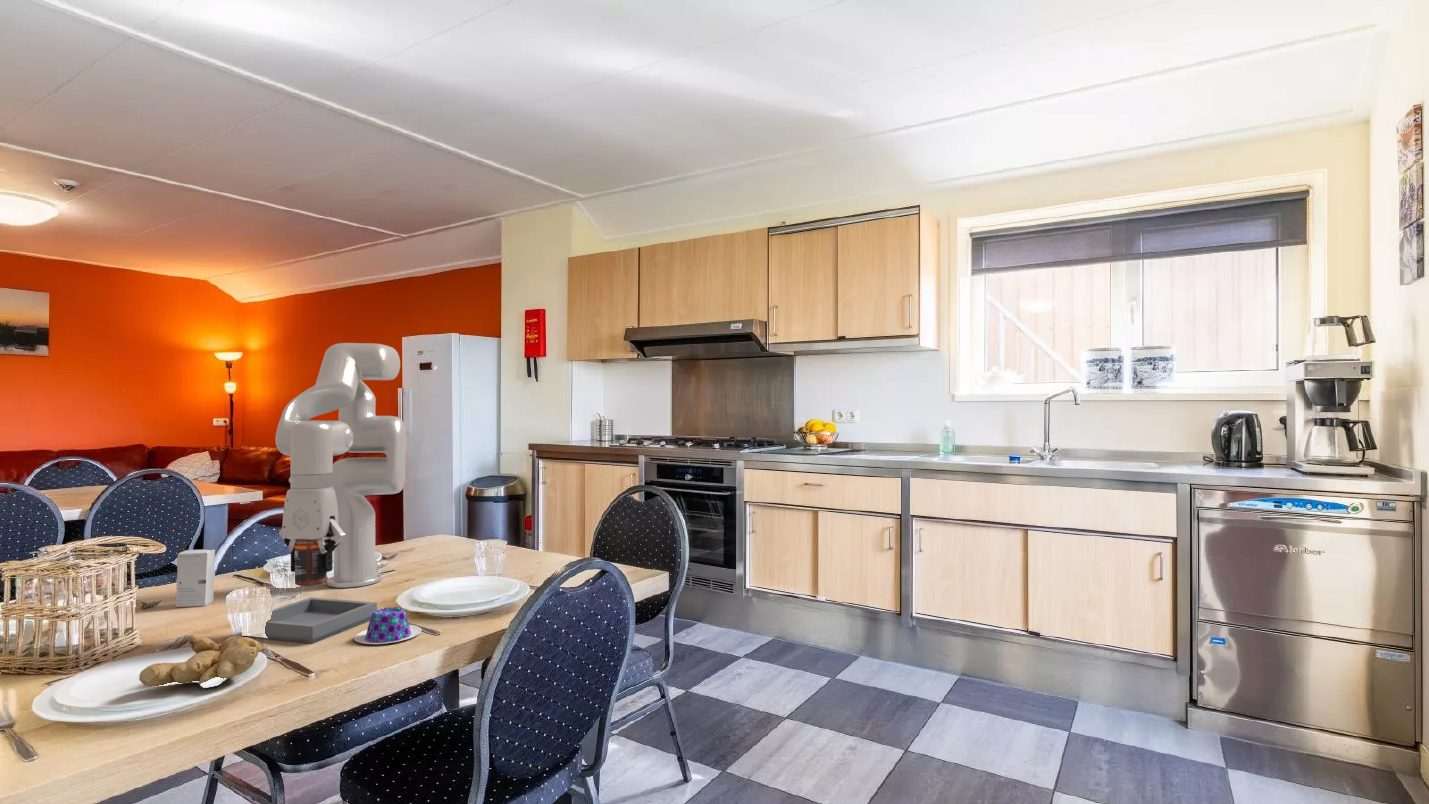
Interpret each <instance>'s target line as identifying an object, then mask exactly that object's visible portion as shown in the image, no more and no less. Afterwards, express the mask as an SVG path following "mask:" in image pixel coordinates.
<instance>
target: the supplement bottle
mask: <svg viewBox="0 0 1429 804" xmlns="http://www.w3.org/2000/svg"><path fill="white" fill-rule="evenodd" d="M325 544H327V542H326V541H325ZM320 553H321V552H320V549H319V545H318V542H317V540H296V541H295V572H294V584H295V585H296V586H298V587H310V586H311V587H312V586H317V585H321V584H324V583H327V580H328V579H329V572H326V573H322V574H319V573H318V554H320Z"/></svg>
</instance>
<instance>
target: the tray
mask: <svg viewBox="0 0 1429 804" xmlns="http://www.w3.org/2000/svg"><path fill="white" fill-rule="evenodd" d="M272 610H273V611H272V615H271V619H270V620H268V621H267V622H266V626H265V634H266V636H267V637H268V638H269V639H268V640H271V641H272V640H274V641H285V642H291V643H292V642H295V643H303V644H315V643H317V642H320V641H323V640H325V639H327V638H328V639H329V638H330V637H332V636H334V635H338V634H340V633H343V632H346V631H347V630H350V629H352V628H353V629H354V627H355V628H356V627H357V626H360V625H363V624H366V623H367V622H368V623H369V622H370V618H371V615H372V613H373V612H375V611H377V610H378V603H377V602H373V601H361V600H348V599H335V598H324V597H323V598H322V597H314V596H313V597H308V598H305V599H302V600H299V601H296V602H293V603H289V604H287V605H284V606H280V607H277V608H274V609H272Z"/></svg>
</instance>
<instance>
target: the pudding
mask: <svg viewBox="0 0 1429 804" xmlns="http://www.w3.org/2000/svg"><path fill="white" fill-rule="evenodd" d="M421 632H422V628H421V627H420V626H418V625H414V624H409V620H408V618H407V612H406V610H405V609H404V608H401V607H396V606H394V607H391V606H390V607H385V608H380V609H377V611H375V612H373V613H372V615H371V618H370V621H368V626H367V629H365V630H362V631H360V632H359V633H357V634H356V635H354V637H353V640H354V641H355V642H357V643H360V644H365V645H387V644H392V643H397V642H401V641H407V640H409V639H412V638H414V637H416V636H418V635H419V634H420V633H421Z"/></svg>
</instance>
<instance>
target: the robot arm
mask: <svg viewBox="0 0 1429 804" xmlns="http://www.w3.org/2000/svg"><path fill="white" fill-rule="evenodd" d="M321 362H322V363H321V364H320V368H319V372H318V375H317V378H316V382H315V385H313V386H312V387H309V388H307V389H306V390H305V391H302V392H301V393H300V394H298V395H297V396H295V397H294V398H292V399H291V400H290V401H289V402H288V403H287V404H286V405H285V407H284V409H283V411H282V413H281V417H280V419H279V422H278V425H277V429H276V432H275V445H276V449H277V450H278V451H279V452H280V454H282V455H284V456H287V457H289V456H290V477H289V478H288V482H289V483H290V489H288V490H287V491H286V493H285V494H286V495H285V499H284V505H283V513H282V524H281V526H282V527H281V528H280V530H279V531H278V535H279V536H280V537H281V539H282V540H283V542H284V544H285V545H286V546H287V550H288V552H289V553H290V572H291V573H295V541H296V540H317V542H318V545H319V549H320V552H321V553H320V554H318V573H319V574H322V573H326V572H328V573H329V572H332V571H333V575H332V576H330V577H328V580H327V581H326V585H327V587H330V588H337V589H338V588H341V589H342V588H345V589H346V588H355V587H363V586H368V585H373V584H376V583H378V582H379V583H380V581H382V578H383V575H382V573H380V572H378V571H379V570H380V569H382V568H385V567H387V566H388V561H387V560H386V559H381V560H376V511H375V509H374V507H373V505H372V504H371V503H370V501H369V500H368V499H367V498H366V496H377V495H379V496H380V495H381V496H382V495H395V494H399V493H400V492H401V491H403V490H404V487H405V483H406V467H407V466H406V458H407V456H406V455H407V430H406V426H405V423H404V421H403V419H401V418H400V417H398V416H396V415H395V416H394V415H376V405H377V404H376V402H377V399H376V396H375V394H374V392H373V391H372V390H371V388H370V387H369V386H368V384H365V381H391V380H392V381H393V380H394V379H396V378H397V377H398V375H399V373H400V369H401V360H400V355H399V353H398V351H397V350H396V349H395V348H394V347H392V346H389V345H387V344H386V345H385V344H382V343H373V342H372V343H366V342H365V343H364V342H362V343H360V342H358V343H357V342H341V343H336V344H333V345H331V346H330V347H328V348H327V349H326V351H325V352H324V356H323V359H322V361H321ZM337 410H338V420H311V419H313V418H316V417H318V416H321V415H325V414H327V413H331V412H334V411H337ZM345 453H359V454H363V453H364V454H365V453H367V454H368V453H371V454H372V453H374V454H375V453H383V454H385V455H386V457H348V458H341V459H339V460H337V461H336V462H334V460H333V459H334V456H340V455H344V454H345ZM325 541H326V542H327V544H325Z"/></svg>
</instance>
